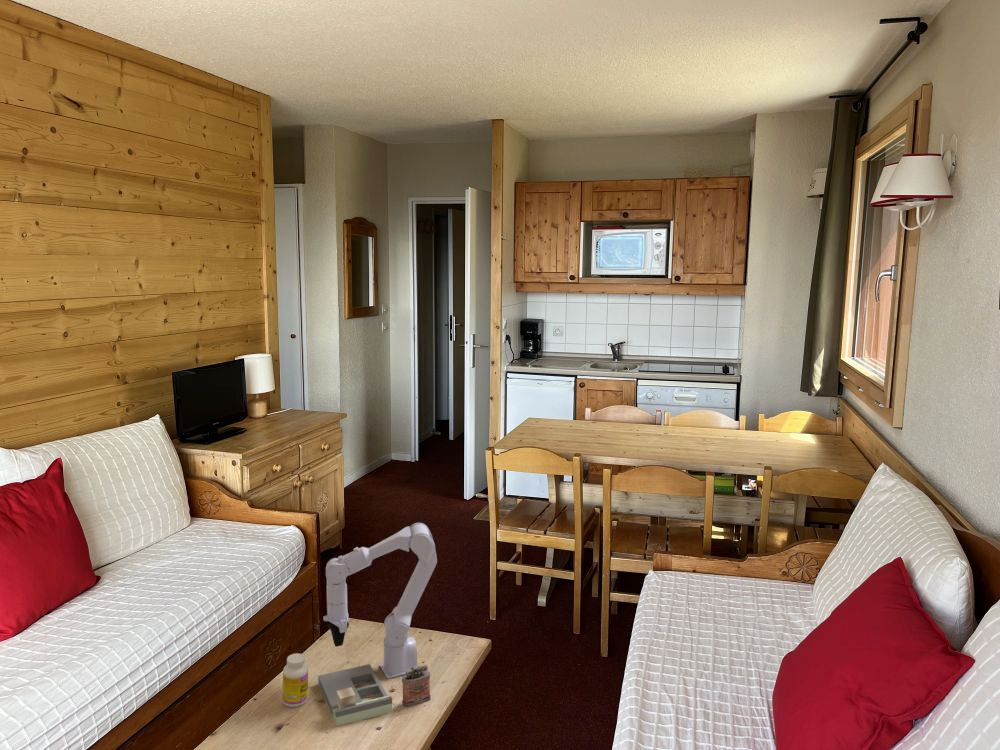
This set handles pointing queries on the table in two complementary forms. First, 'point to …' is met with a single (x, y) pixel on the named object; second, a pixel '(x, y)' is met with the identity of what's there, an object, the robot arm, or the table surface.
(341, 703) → the block
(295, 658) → the supplement bottle
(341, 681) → the grey divided tray
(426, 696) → the ornate red tin
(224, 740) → the table surface
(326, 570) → the robot arm
